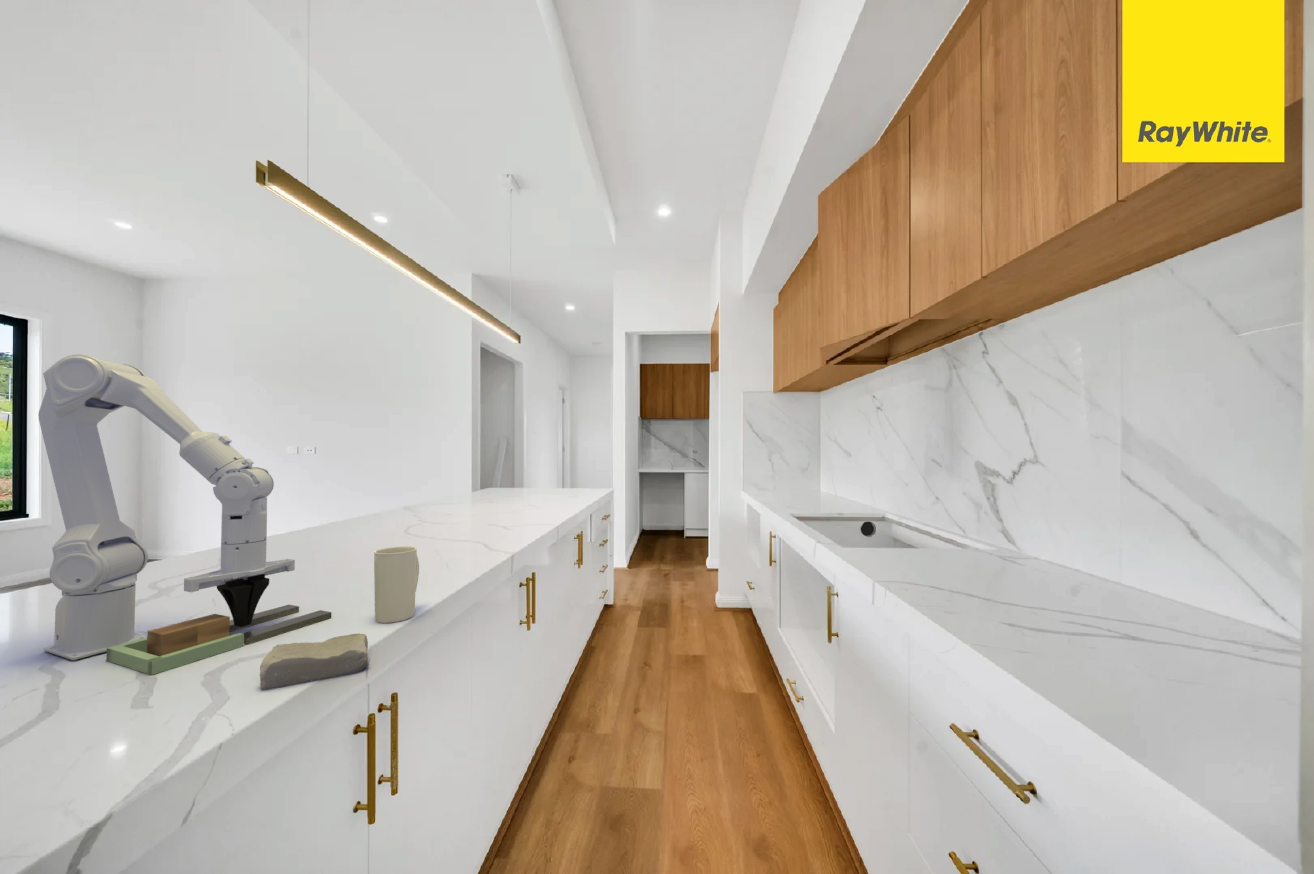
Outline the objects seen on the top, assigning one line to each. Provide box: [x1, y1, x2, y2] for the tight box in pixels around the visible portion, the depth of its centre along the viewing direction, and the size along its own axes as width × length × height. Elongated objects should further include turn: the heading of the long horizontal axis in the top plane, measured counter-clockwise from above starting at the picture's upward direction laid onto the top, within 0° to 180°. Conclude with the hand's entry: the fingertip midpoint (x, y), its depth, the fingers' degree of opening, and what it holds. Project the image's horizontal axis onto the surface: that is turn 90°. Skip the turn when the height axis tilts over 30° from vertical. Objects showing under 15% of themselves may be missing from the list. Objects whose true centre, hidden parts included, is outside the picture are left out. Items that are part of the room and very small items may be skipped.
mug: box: [373, 545, 420, 624], centre depth 89 cm, size 10×7×12 cm, turn 173°
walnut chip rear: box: [183, 613, 231, 645], centre depth 75 cm, size 4×4×4 cm
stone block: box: [259, 633, 369, 691], centre depth 67 cm, size 12×5×10 cm
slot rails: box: [229, 604, 332, 645], centre depth 83 cm, size 12×13×1 cm
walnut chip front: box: [146, 621, 198, 656], centre depth 71 cm, size 4×4×4 cm
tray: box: [105, 632, 245, 676], centre depth 72 cm, size 12×10×2 cm
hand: (242, 624), depth 79 cm, fingers closed
